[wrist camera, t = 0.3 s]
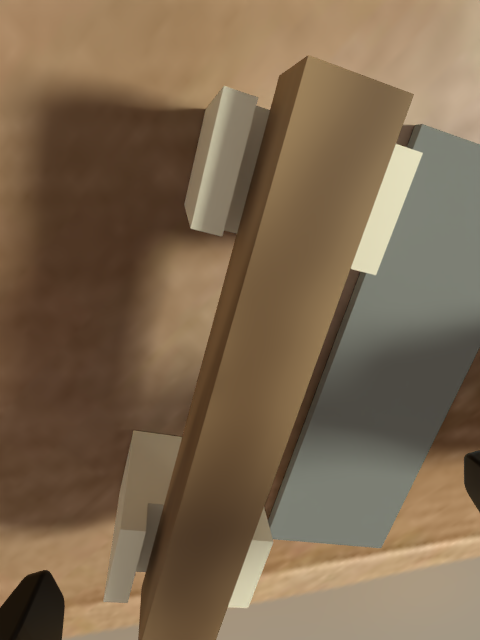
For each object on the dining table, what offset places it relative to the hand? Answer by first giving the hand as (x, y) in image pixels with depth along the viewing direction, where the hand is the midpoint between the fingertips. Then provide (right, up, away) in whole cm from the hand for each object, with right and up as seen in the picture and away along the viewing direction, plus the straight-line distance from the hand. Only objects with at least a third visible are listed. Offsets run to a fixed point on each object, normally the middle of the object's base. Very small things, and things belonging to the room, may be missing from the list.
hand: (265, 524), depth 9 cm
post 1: (-4, -4, +15) cm, 16 cm away
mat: (+8, +1, +15) cm, 17 cm away
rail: (-1, +1, +8) cm, 8 cm away
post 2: (+1, +11, +10) cm, 15 cm away
